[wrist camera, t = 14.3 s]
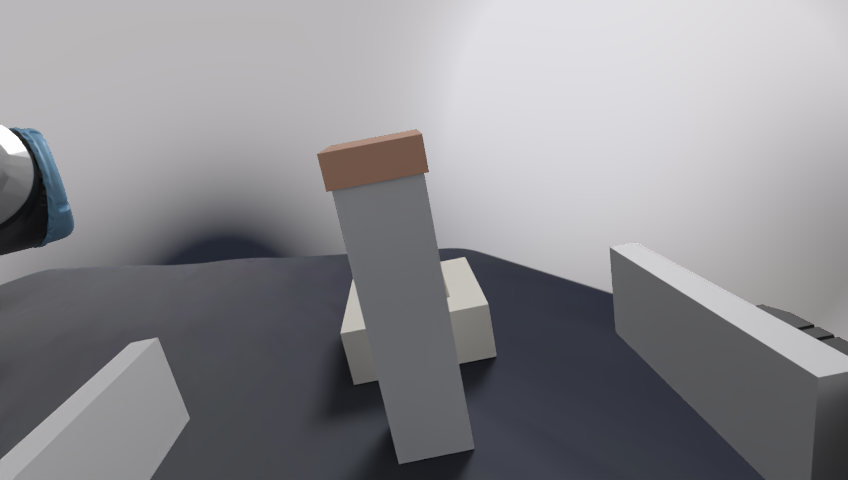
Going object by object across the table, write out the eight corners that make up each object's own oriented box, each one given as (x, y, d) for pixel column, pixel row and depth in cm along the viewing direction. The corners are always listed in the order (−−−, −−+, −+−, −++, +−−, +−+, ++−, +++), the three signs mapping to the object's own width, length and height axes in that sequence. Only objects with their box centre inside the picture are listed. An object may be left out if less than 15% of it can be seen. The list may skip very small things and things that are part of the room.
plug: (395, 467, 23) (317, 154, 19) (394, 413, 28) (330, 145, 23) (478, 450, 23) (421, 134, 19) (465, 398, 28) (416, 129, 23)
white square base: (353, 385, 31) (340, 333, 30) (362, 320, 41) (352, 279, 40) (496, 356, 31) (488, 304, 30) (471, 298, 41) (464, 257, 40)
